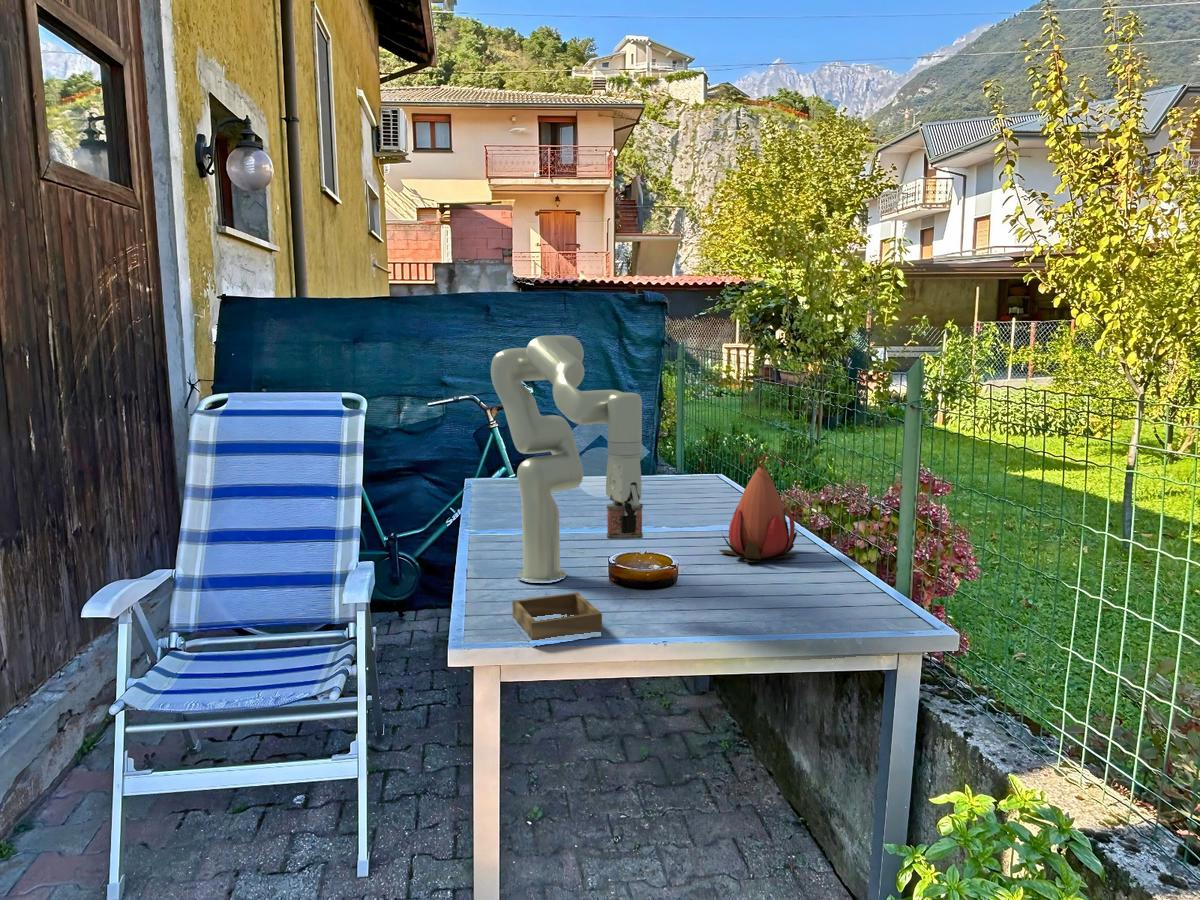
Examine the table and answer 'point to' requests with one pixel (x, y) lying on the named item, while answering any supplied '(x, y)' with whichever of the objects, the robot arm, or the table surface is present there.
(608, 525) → the lighter
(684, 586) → the table surface
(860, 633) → the table surface
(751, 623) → the table surface
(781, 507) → the decorative flower
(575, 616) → the walled box
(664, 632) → the table surface
